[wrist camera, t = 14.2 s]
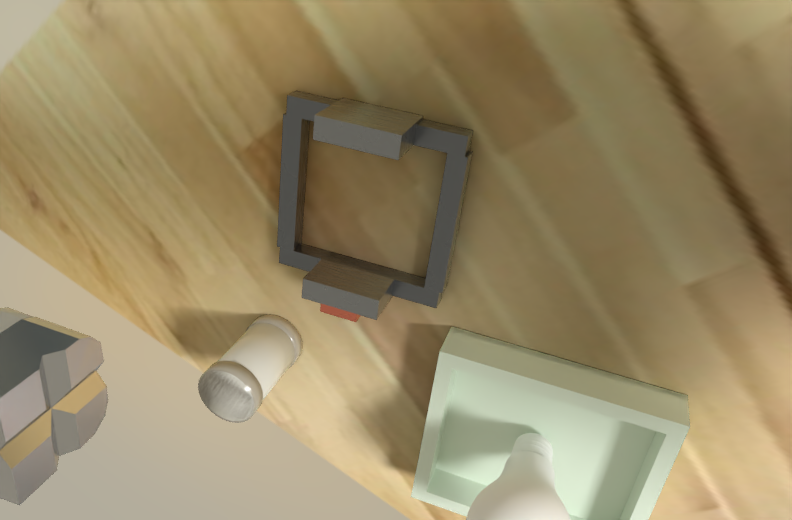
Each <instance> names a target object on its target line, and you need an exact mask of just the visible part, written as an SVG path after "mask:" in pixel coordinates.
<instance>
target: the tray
mask: <svg viewBox="0 0 792 520" xmlns="http://www.w3.org/2000/svg"><path fill="white" fill-rule="evenodd" d="M689 428H690V419H689V406H688V395H685V394H681V393H678V392H674V391H671V390H667V389H664V388H661V387H657V386H654V385H650V384H647V383H644V382H640V381H637V380H633V379H630V378H627V377H623V376H620V375H616V374H613V373H609V372H606V371H603V370H599V369H596V368H592V367H589V366H586V365H582V364H579V363H575V362H572V361H569V360H565V359H562V358H558V357H555V356H551V355H548V354H545V353H541V352H538V351H534V350H531V349H528V348H524V347H521V346H517V345H514V344H511V343H507V342H504V341H500V340H497V339H493V338H490V337H487V336H483V335H480V334H476V333H473V332H470V331H466V330H463V329H459V328H456V327H453V326H451V328H450V330H449V333H448V335H447V337H446V339H445V341H444V343H443V345H442V347H441V349H440V352H439V357H438V362H437V367H436V372H435V377H434V382H433V387H432V392H431V398H430V403H429V408H428V413H427V418H426V423H425V428H424V433H423V438H422V443H421V449H420V454H419V459H418V464H417V469H416V474H415V479H414V484H413V489H412V494H411V497H413V498H416V499H418V500H421V501H424V502H427V503H430V504H433V505H435V506H438V507H441V508H444V509H447V510H449V511H452V512H455V513H458V514H461V515H464V516H466V517H467V515H468V511H469V509H470V507H471V505H472V503H473V501H474V500H475V498H476V497H477V495H478V494H479V493H480V492H481V491H482V490H483V489H485V488H486V487H487V486H488V485H489V484H491V483H492V482H494V481H495V480H497V479H498V478H499V477H500V475H501V473H502V471H503V469H504V466H505V463H506V461H507V459H508V458H509V457H510V456H511V453H512V450H513V447H514V444H515V441H516V439H517V438H518V437H519V436H521V435H523V434H526V433H536V434H539V435H542V436H543V437H545V438H546V439H547V440H548V441H549V442H550V443H551V445H552V449H553V456H552V459H553V460H552V466H553V469H554V473H555V478H554V483H555V489H556V492H557V494H558V496H559V497H560V499H561V501H562V502H563V504H564V506H565V508H566V510H567V512H568V514H569V516H570V519H571V520H648V519H649V517H650V515H651V513H652V510H653V508H654V506H655V504H656V501H657V499H658V497H659V495H660V493H661V490H662V488H663V486H664V484H665V481H666V479H667V477H668V475H669V473H670V470H671V468H672V466H673V464H674V461H675V459H676V457H677V455H678V453H679V450H680V448H681V446H682V444H683V441H684V439H685V437H686V435H687V433H688V430H689Z"/></svg>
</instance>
